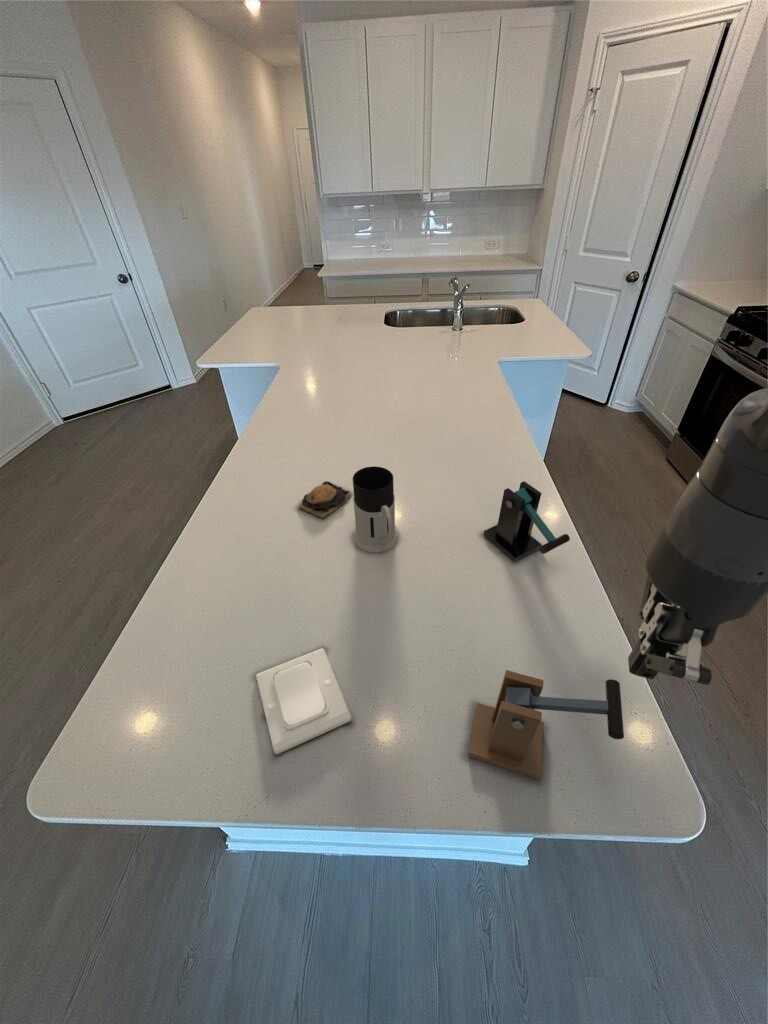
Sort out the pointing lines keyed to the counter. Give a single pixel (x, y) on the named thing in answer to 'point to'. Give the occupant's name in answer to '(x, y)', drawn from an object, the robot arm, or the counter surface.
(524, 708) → the near bracket
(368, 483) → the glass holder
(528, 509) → the far lever
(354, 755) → the counter surface
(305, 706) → the light switch
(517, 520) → the far bracket
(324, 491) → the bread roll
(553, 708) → the near lever
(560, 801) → the counter surface
